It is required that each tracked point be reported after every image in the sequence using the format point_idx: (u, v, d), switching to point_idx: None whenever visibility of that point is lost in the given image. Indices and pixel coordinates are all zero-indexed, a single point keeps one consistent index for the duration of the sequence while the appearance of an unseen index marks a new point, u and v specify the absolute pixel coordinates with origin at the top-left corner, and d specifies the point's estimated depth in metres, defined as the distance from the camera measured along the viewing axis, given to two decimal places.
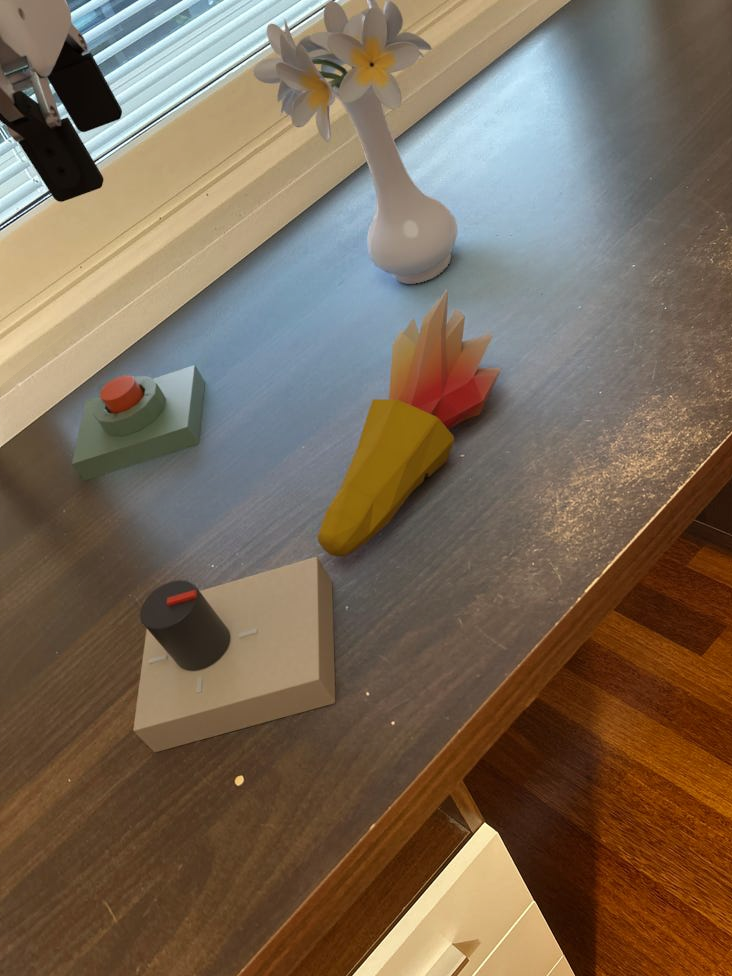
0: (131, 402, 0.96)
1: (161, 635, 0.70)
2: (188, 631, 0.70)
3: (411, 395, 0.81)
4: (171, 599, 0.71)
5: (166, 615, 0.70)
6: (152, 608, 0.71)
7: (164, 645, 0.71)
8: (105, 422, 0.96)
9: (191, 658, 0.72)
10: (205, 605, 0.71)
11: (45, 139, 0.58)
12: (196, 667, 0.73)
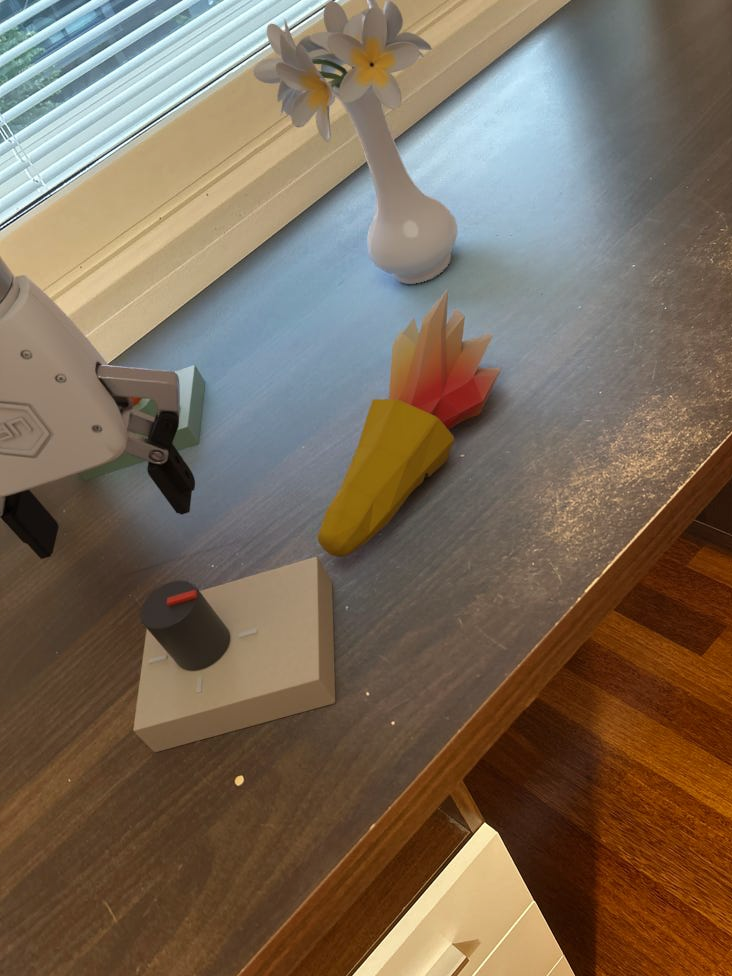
0: None
1: (161, 635, 0.70)
2: (188, 631, 0.70)
3: (411, 395, 0.81)
4: (171, 599, 0.71)
5: (166, 615, 0.70)
6: (152, 608, 0.71)
7: (164, 645, 0.71)
8: None
9: (191, 658, 0.72)
10: (205, 605, 0.71)
11: (171, 449, 0.62)
12: (196, 667, 0.73)
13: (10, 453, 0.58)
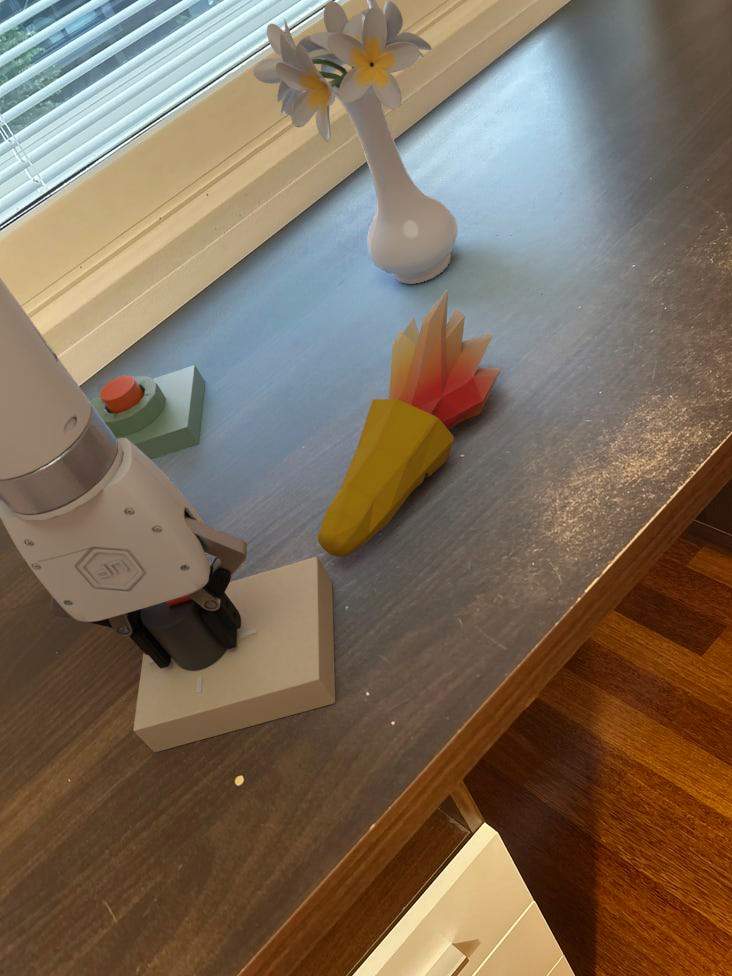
0: (131, 402, 0.96)
1: (161, 635, 0.70)
2: (188, 631, 0.70)
3: (411, 395, 0.81)
4: None
5: (166, 615, 0.70)
6: (152, 608, 0.71)
7: (164, 645, 0.71)
8: (105, 422, 0.96)
9: (191, 658, 0.72)
10: None
11: None
12: (196, 667, 0.73)
13: (107, 588, 0.65)
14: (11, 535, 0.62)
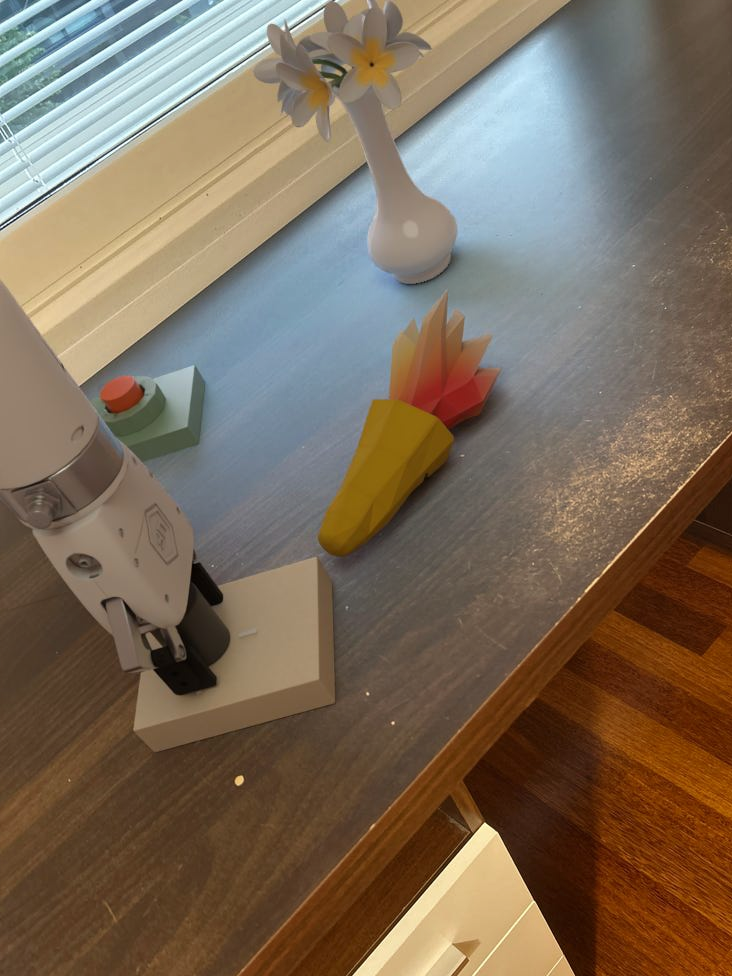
0: (131, 402, 0.96)
1: (199, 610, 0.71)
2: None
3: (411, 395, 0.81)
4: None
5: None
6: None
7: (204, 629, 0.71)
8: (105, 422, 0.96)
9: (221, 628, 0.73)
10: None
11: None
12: (228, 638, 0.74)
13: (170, 560, 0.66)
14: (109, 534, 0.60)
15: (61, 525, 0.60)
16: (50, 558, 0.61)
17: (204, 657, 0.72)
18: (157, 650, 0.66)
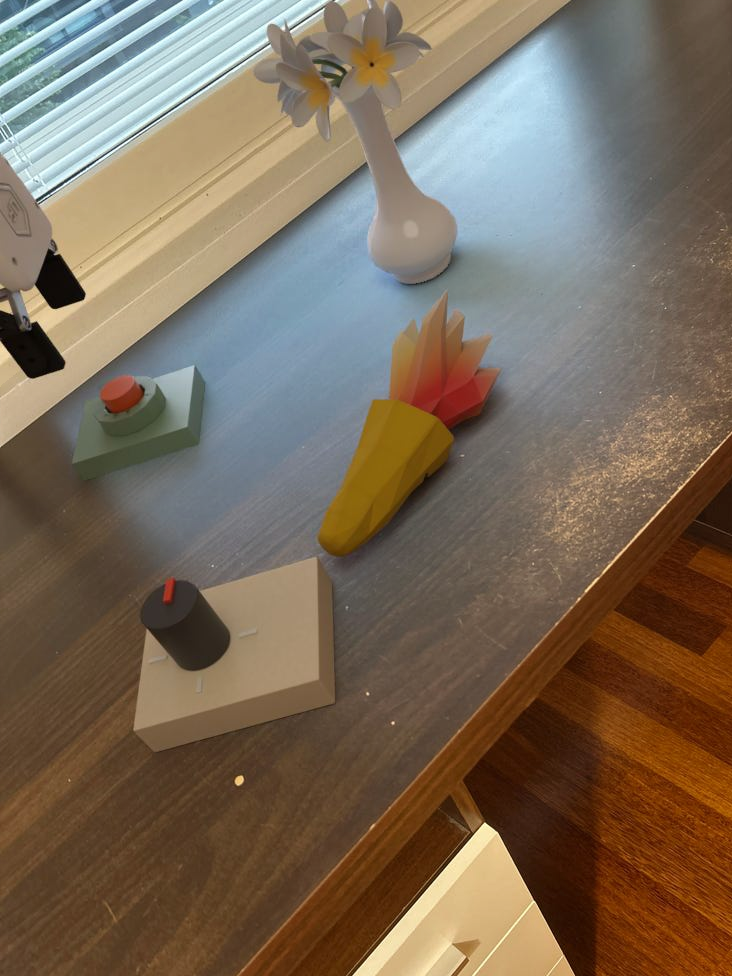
0: (131, 402, 0.96)
1: (199, 610, 0.71)
2: None
3: (411, 395, 0.81)
4: (167, 596, 0.71)
5: (182, 600, 0.71)
6: (166, 616, 0.70)
7: (204, 629, 0.71)
8: (105, 422, 0.96)
9: (221, 628, 0.73)
10: None
11: None
12: (228, 638, 0.74)
13: (21, 234, 0.75)
14: None
15: None
16: None
17: (204, 657, 0.72)
18: None
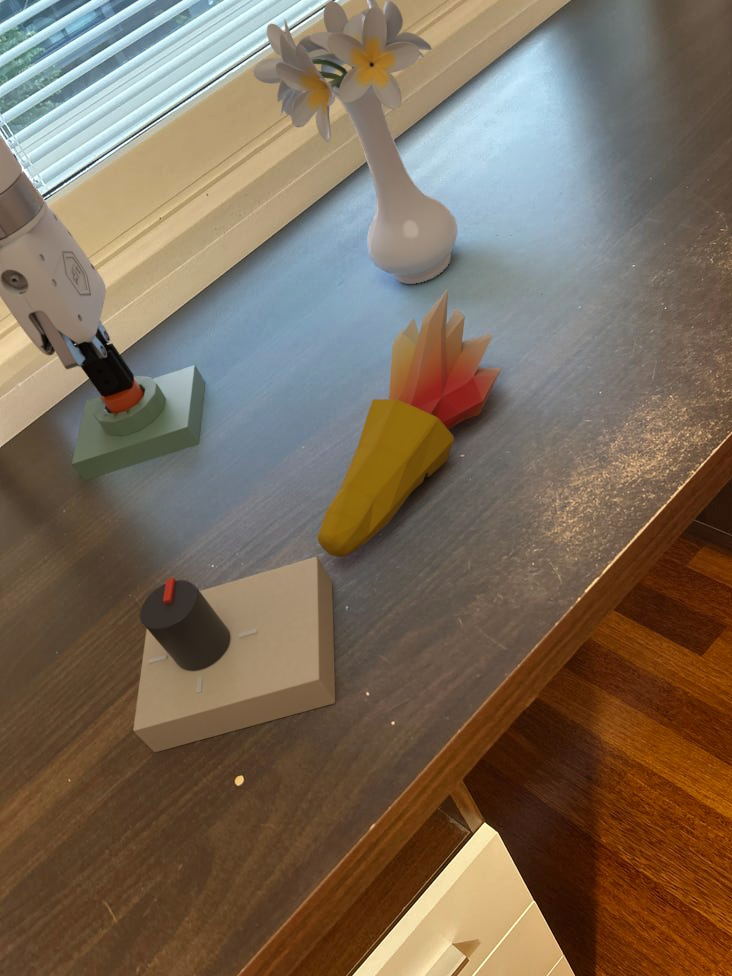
0: (131, 403, 0.96)
1: (199, 610, 0.71)
2: None
3: (411, 395, 0.81)
4: (167, 596, 0.71)
5: (182, 600, 0.71)
6: (166, 616, 0.70)
7: (204, 629, 0.71)
8: (105, 422, 0.96)
9: (221, 628, 0.73)
10: None
11: None
12: (228, 638, 0.74)
13: (83, 294, 0.88)
14: (32, 255, 0.82)
15: None
16: None
17: (204, 657, 0.72)
18: (83, 343, 0.90)
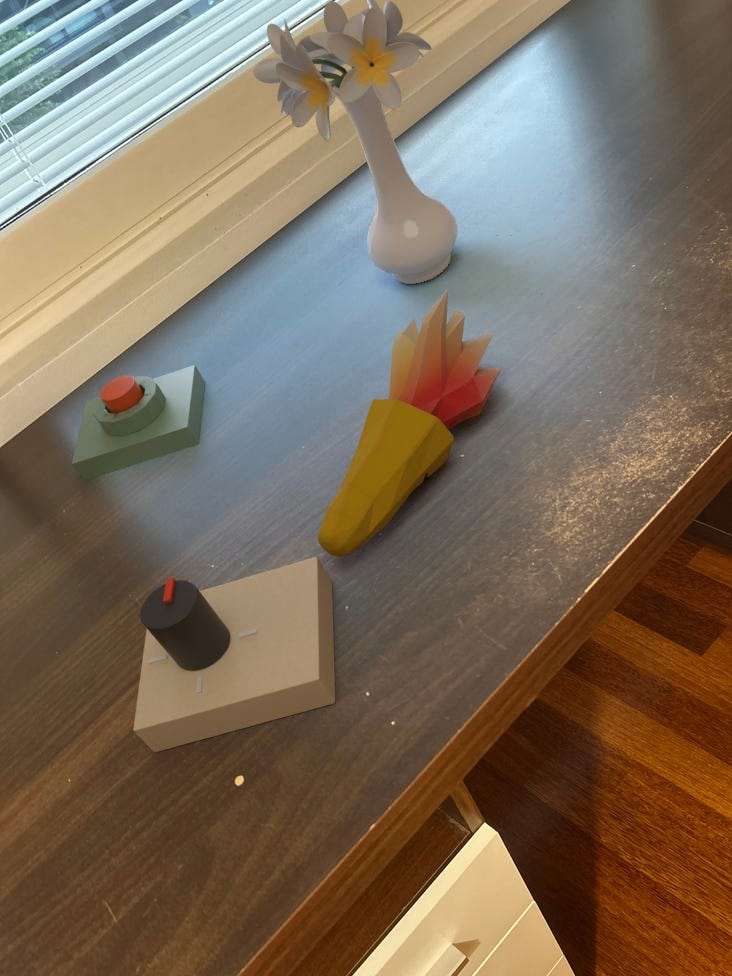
0: (131, 402, 0.96)
1: (199, 610, 0.71)
2: None
3: (411, 395, 0.81)
4: (167, 596, 0.71)
5: (182, 600, 0.71)
6: (166, 616, 0.70)
7: (204, 629, 0.71)
8: (105, 422, 0.96)
9: (221, 628, 0.73)
10: None
11: None
12: (228, 638, 0.74)
13: None
14: None
15: None
16: None
17: (204, 657, 0.72)
18: None
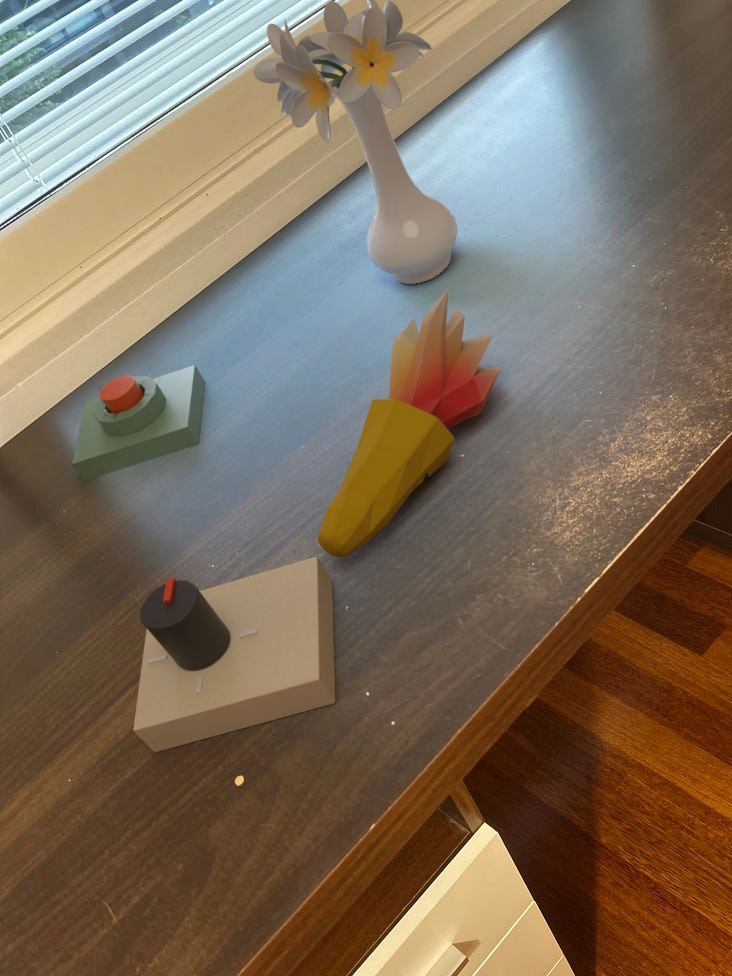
0: (131, 402, 0.96)
1: (199, 610, 0.71)
2: None
3: (411, 395, 0.81)
4: (167, 596, 0.71)
5: (182, 600, 0.71)
6: (166, 616, 0.70)
7: (204, 629, 0.71)
8: (105, 422, 0.96)
9: (221, 628, 0.73)
10: None
11: None
12: (228, 638, 0.74)
13: None
14: None
15: None
16: None
17: (204, 657, 0.72)
18: None
